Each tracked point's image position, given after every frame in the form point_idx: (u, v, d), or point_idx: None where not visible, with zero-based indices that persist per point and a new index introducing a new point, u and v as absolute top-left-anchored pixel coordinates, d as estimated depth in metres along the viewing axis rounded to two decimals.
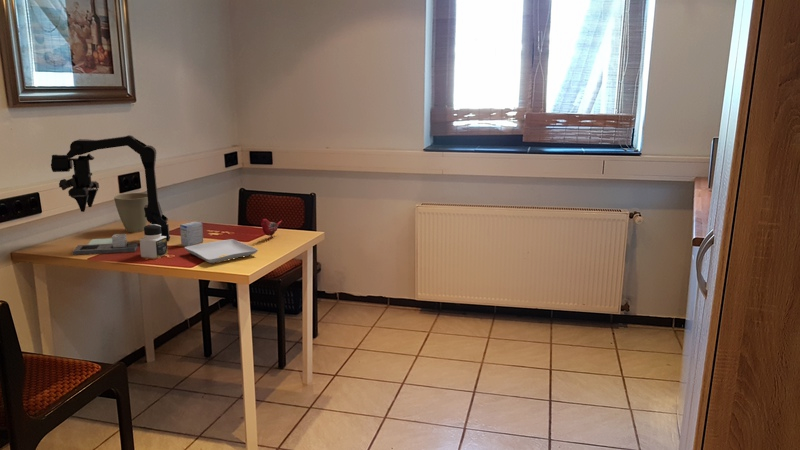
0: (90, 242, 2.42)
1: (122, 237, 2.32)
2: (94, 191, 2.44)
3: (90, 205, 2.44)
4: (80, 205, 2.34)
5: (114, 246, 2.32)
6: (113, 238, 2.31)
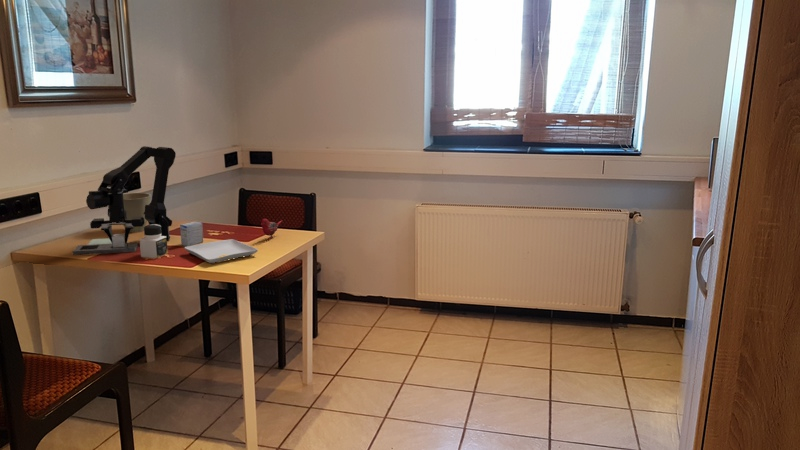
0: (90, 242, 2.42)
1: (122, 237, 2.32)
2: (125, 228, 2.32)
3: (125, 241, 2.35)
4: None
5: (114, 246, 2.32)
6: (113, 238, 2.31)
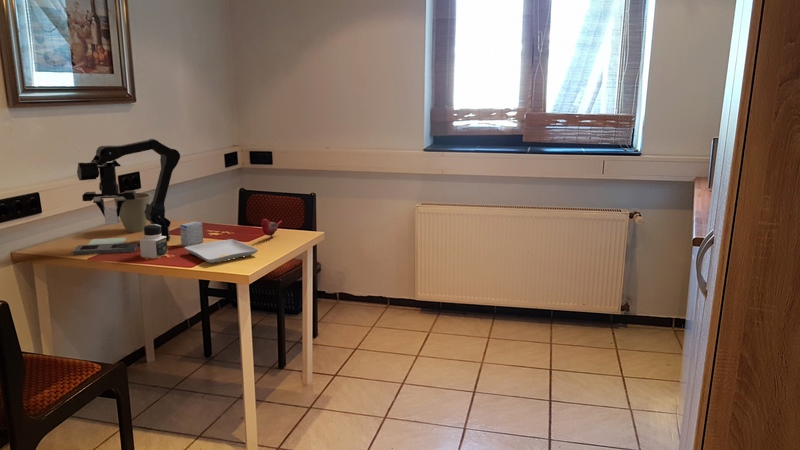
0: (90, 242, 2.42)
1: (114, 210, 2.34)
2: (117, 201, 2.33)
3: None
4: None
5: (106, 219, 2.33)
6: (105, 211, 2.33)
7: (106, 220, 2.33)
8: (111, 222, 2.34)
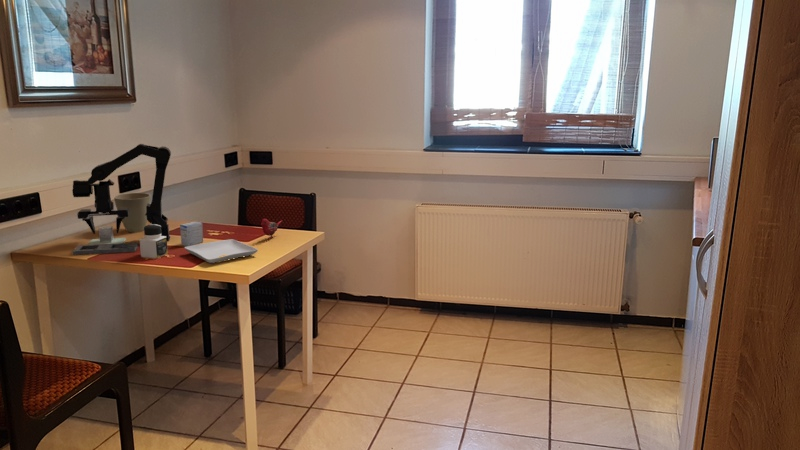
0: (90, 242, 2.42)
1: (108, 229, 2.41)
2: None
3: None
4: None
5: (101, 238, 2.41)
6: (100, 230, 2.41)
7: (100, 239, 2.41)
8: (105, 241, 2.42)
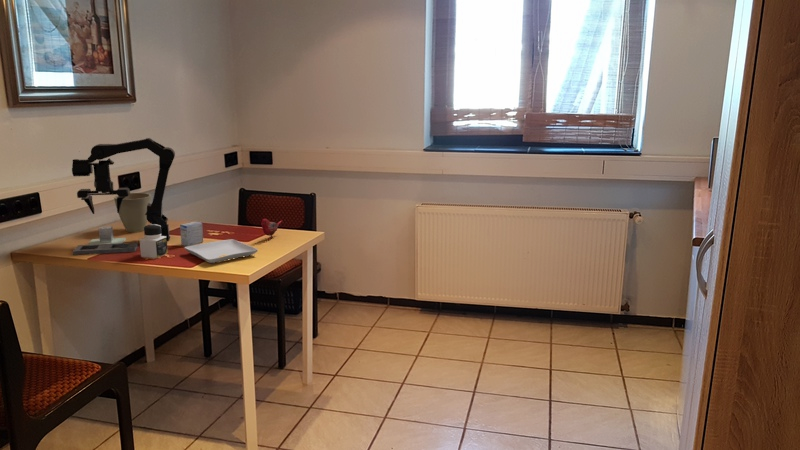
0: (90, 242, 2.42)
1: (108, 229, 2.41)
2: (117, 198, 2.40)
3: (117, 211, 2.43)
4: None
5: (101, 238, 2.41)
6: (100, 230, 2.41)
7: (100, 239, 2.41)
8: (105, 241, 2.42)
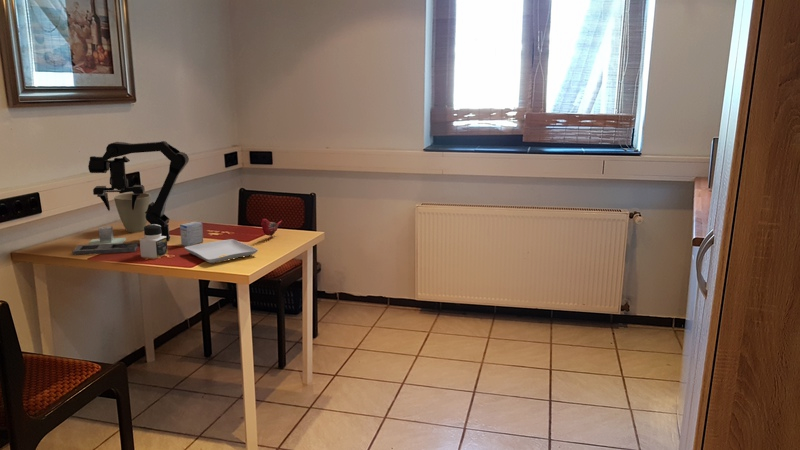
0: (90, 242, 2.42)
1: (108, 229, 2.41)
2: (132, 195, 2.44)
3: (132, 208, 2.47)
4: None
5: (101, 238, 2.41)
6: (100, 230, 2.41)
7: (100, 239, 2.41)
8: (105, 241, 2.42)
